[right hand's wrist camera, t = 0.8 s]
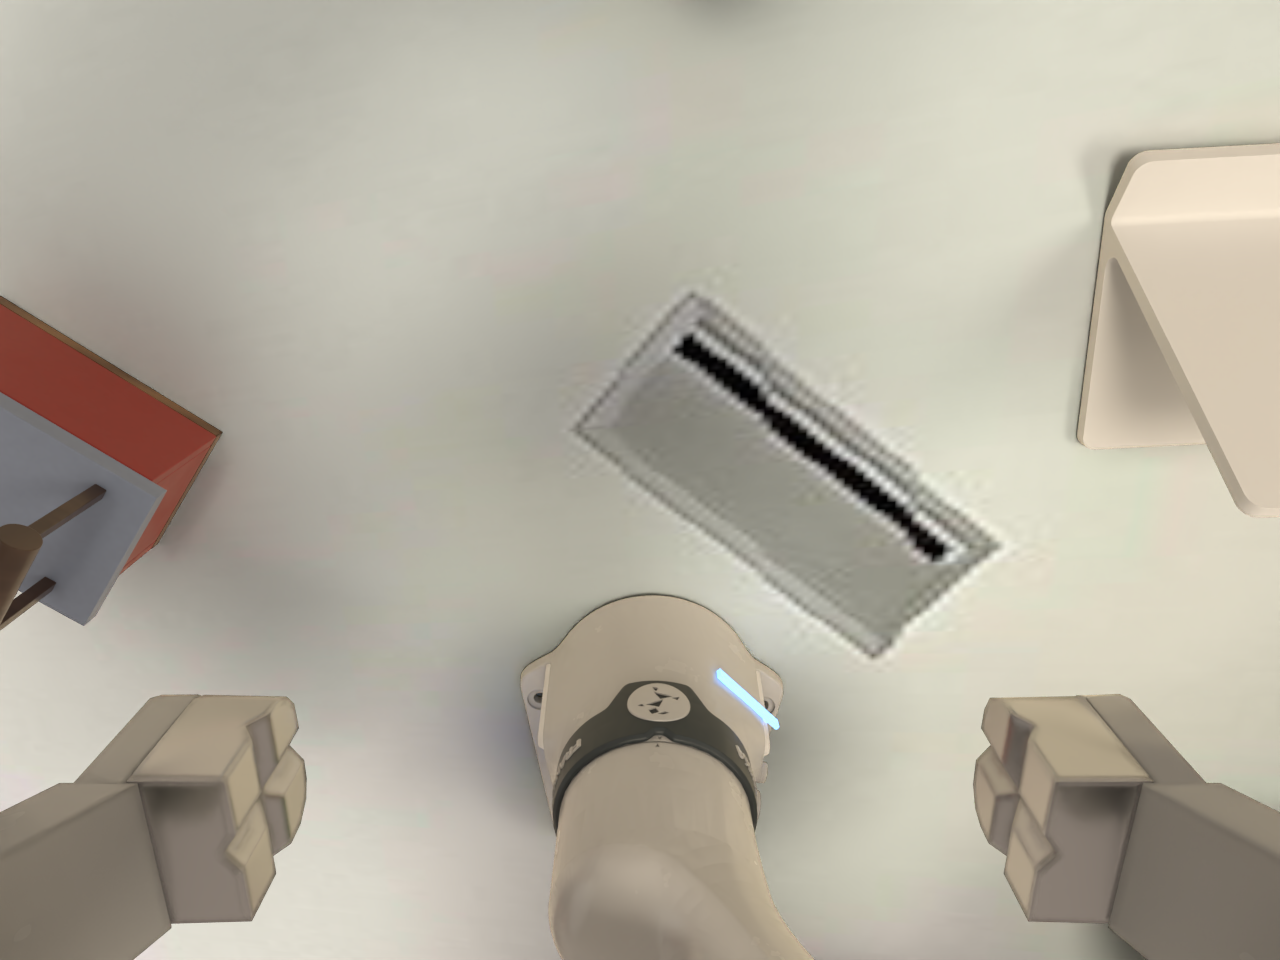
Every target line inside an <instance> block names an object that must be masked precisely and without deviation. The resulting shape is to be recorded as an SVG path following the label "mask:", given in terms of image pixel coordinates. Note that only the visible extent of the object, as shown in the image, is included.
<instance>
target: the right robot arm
mask: <svg viewBox="0 0 1280 960" xmlns="http://www.w3.org/2000/svg"><path fill="white" fill-rule="evenodd" d="M520 686H521V692H522V696H523V700H524V704H525V708H526V713H527V717H528V721H529V725H530V729H531V734H532V738H533V742H534V746H535V750H536V755H537V759H538V763H539V767H540V771H541V775H542V780H543V784H544V788H545V792H546V796H547V801H548V805H549V809H550V813H551V817H552V821H553V825H554V829H555V833H556V837H557V838H556V847H555V855H554V864H553V872H552V880H551V889H550V897H549V905H548V916H549V924H550V930H551V934H552V937H553V941H554V944H555V947H556V949H557V951H558V953H559V955H560V957H561V959H562V960H814V958H813V957H812V956H811V955H810V954H809V953H808V952H807V951H806V950H805V949H804V947H803V946H802V945H801V944H800V942H799V941H798V940H797V939H796V937H795V936H794V935H793V934H792V932H791V931H790V930H789V928H788V927H787V925H786V924H785V922H784V921H783V919H782V918H781V916H780V914H779V912H778V910H777V909H776V907H775V905H774V903H773V900H772V898H771V895H770V892H769V888H768V885H767V881H766V878H765V874H764V871H763V867H762V863H761V859H760V855H759V851H758V847H757V842H756V838H755V829H756V824H757V820H758V817H759V813H760V807H761V796H760V792H759V791H758V790H757V788H756V782H758V783H764V782H765V781H766V777H767V770H768V768H767V763H766V762H763V758H764V756H766V755H768V754H769V751H770V740H769V734H770V732H771V729H772V727H773V728H774V729H775V730H777V729H778V728H779V724H778V720H777V719H776V718H775V717H776V714H777V712H778V709H779V706H780V703H781V700H782V697H783V683H782V680H781V678H780V677H779V676H778V675H777V674H776V673H775V672H774V671H772V670H771V669H770V668H768V667H767V666H765V665H764V664H762V663H760V662H759V661H757V660H756V659H754V658H753V657H752V656H751V655H750V653H749V652H748V651H747V650H746V648H745V646H744V645H743V643H742V642H741V640H740V639H739V637H738V636H737V634H736V633H735V632H734V631H733V630H732V628H731V627H730V626H729V625H728V624H727V623H726V622H725V621H723V620H722V619H721V618H720V617H719V616H717V615H716V614H714V613H713V612H711V611H709V610H708V609H706V608H704V607H702V606H700V605H698V604H695V603H693V602H690V601H687V600H683V599H680V598H675V597H669V596H659V595H646V596H636V597H630V598H625V599H621V600H618V601H615V602H612V603H609V604H607V605H605V606H603V607H601V608H599V609H597V610H595V611H593V612H592V613H590V614H589V615H587V616H586V617H585V618H583V619H582V620H581V621H580V622H579V623H578V624H577V625H576V626H575V627H574V628H573V629H572V630H571V631H570V632H569V633H568V635H567V636H566V637H565V639H564V640H563V641H562V642H561V644H560V645H559V646H558V647H557V648H556V649H555V650H554V651H553V652H551V653H549V654H547V655H545V656H543V657H541V658H539V659H537V660H536V661H534V662H532V663H531V664H529V665H528V666H527V667H526V668H525V669H524V670H523V671H522V673H521V682H520ZM537 693H542V694H543V696H542V697H538V696H536V695H535V694H537ZM764 701H767V702H766V703H765V704H764ZM298 729H299V726H298V721H297V716H296V711H295V706H294V703H293V702H292V701H291V700H290V699H289V698H288V697H284V696H236V695H203V696H201V695H159V696H156V697H152V698H150V699H149V700H148V701H147V702H146V703H145V705H144V706H143V707H142V708H141V709H140V710H139V711H138V712H137V713H136V714H135V716H134V717H133V718H132V719H131V720H130V721H129V722H128V723H127V724H126V726H125V727H124V728H123V729H122V730H121V731H120V732H119V733H118V734H117V736H116V737H115V738H114V739H113V740H112V741H111V742H110V743H109V744H108V745H107V747H106V748H105V749H104V750H103V751H102V752H101V753H100V754H99V755H98V757H97V758H96V759H95V760H94V761H93V762H92V763H91V764H90V765H89V767H88V768H87V769H86V770H85V771H84V772H83V773H82V774H81V775H80V776H79V778H78V779H77V780H76V781H75V782H74V783H59V784H57V785H55V786H53V787H51V788H49V789H46V790H44V791H42V792H40V793H38V794H36V795H34V796H32V797H30V798H28V799H26V800H24V801H22V802H20V803H18V804H16V805H14V806H12V807H10V808H8V809H6V810H4V811H2V812H0V960H133V959H135V958H136V957H137V956H138V955H139V954H141V953H142V952H143V951H144V950H145V949H147V948H148V947H149V946H150V945H151V944H153V943H154V942H155V941H156V940H157V939H159V938H160V937H161V936H162V935H163V934H165V933H166V932H167V931H168V930H170V929H171V924H173V923H208V922H242V921H252V920H253V918H254V916H255V914H256V912H257V910H258V908H259V906H260V904H261V902H262V900H263V898H264V896H265V894H266V892H267V890H268V888H269V886H270V885H271V883H272V881H273V879H274V877H275V875H276V869H275V864H274V858H273V856H274V855H275V854H277V853H278V852H280V851H281V850H282V849H284V848H285V847H287V846H288V845H290V844H291V843H292V841H293V839H294V837H295V834H296V832H297V830H298V828H299V826H300V824H301V820H302V815H303V811H304V806H305V802H306V780H307V778H306V771H305V764H304V760H303V759H302V758H301V757H300V755H299V754H298V753H297V752H296V751H295V750H294V749H293V748H292V747H291V746H290V745H289V744H290V743H291V741H292V739H293V737H294V736H295V734H296V732H297V730H298ZM981 729H982V730H983V732H984V734H985V736H986V737H987V739H988V741H989V743H990V744H991V745H990V746H989V747H988V748H987V749H986V750H985V751H984V752H983V753H982V754H981V755H980V757H979V758H978V759H977V760H976V765H975V773H974V781H973V789H974V799H975V809H976V813H977V816H978V819H979V823H980V826H981V828H982V830H983V832H984V835H985V837H986V839H987V841H988V843H989V844H990V845H992V846H993V847H995V848H996V849H998V850H999V851H1000V852H1002V853H1003V854H1005V855H1006V856H1007V858H1006V864H1005V869H1004V875H1005V877H1006V879H1007V881H1008V883H1009V885H1010V886H1011V888H1012V890H1013V892H1014V894H1015V896H1016V898H1017V900H1018V902H1019V904H1020V906H1021V908H1022V910H1023V912H1024V914H1025V916H1026V918H1027V920H1028V921H1036V922H1071V923H1107V924H1109V926H1108V927H1109V928H1110V929H1111V930H1112V931H1113V932H1115V933H1116V934H1117V935H1118V936H1119V937H1121V938H1122V939H1123V940H1124V941H1125V942H1127V943H1128V944H1129V945H1130V946H1131V947H1133V948H1134V949H1135V950H1136V951H1137V952H1139V953H1140V954H1141V955H1142V956H1143V957H1145V958H1146V959H1147V960H1280V812H1278V811H1276V810H1274V809H1272V808H1270V807H1268V806H1266V805H1264V804H1262V803H1260V802H1258V801H1256V800H1254V799H1252V798H1250V797H1248V796H1246V795H1244V794H1242V793H1240V792H1238V791H1236V790H1233V789H1231V788H1229V787H1227V786H1225V785H1223V784H1221V783H1206V782H1205V781H1204V780H1203V779H1202V778H1201V776H1200V775H1199V774H1198V773H1197V772H1196V771H1195V770H1194V769H1193V768H1192V767H1191V765H1190V764H1189V763H1188V762H1187V761H1186V760H1185V759H1184V758H1183V757H1182V755H1181V754H1180V753H1179V752H1178V751H1177V750H1176V749H1175V748H1174V747H1173V745H1172V744H1171V743H1170V742H1169V741H1168V740H1167V739H1166V738H1165V737H1164V736H1163V734H1162V733H1161V732H1160V731H1159V730H1158V729H1157V728H1156V727H1155V726H1154V724H1153V723H1152V722H1151V721H1150V720H1149V719H1148V718H1147V717H1146V716H1145V714H1144V713H1143V712H1142V711H1141V710H1140V709H1139V708H1138V707H1137V706H1136V705H1135V703H1134V702H1133V701H1132V700H1131V699H1129V698H1127V697H1125V696H1123V695H1121V694H1106V695H1077V696H1061V697H1007V698H990V699H989V701H988V703H987V705H986V707H985V709H984V714H983V720H982V726H981Z"/></svg>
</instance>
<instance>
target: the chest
mask: <svg viewBox="0 0 1280 960" xmlns="http://www.w3.org/2000/svg"><path fill="white" fill-rule="evenodd" d="M0 392H1V393H3V394H4V395H6V396H8V397H10V398H11V399H13V400H15V401H16V402H18V403H20V404H21V405H23V406H25V407H26V408H28V409H30V410H32V411H33V412H35V413H37V414H38V415H40V416H42V417H43V418H45V419H47V420H49V421H50V422H52V423H54V424H55V425H57V426H59V427H60V428H62V429H64V430H65V431H67V432H69V433H71V434H72V435H74V436H76V437H77V438H79V439H81V440H82V441H84V442H86V443H88V444H89V445H91V446H93V447H94V448H96V449H98V450H99V451H101V452H103V453H104V454H106V455H108V456H110V457H111V458H113V459H115V460H116V461H118V462H120V463H121V464H123V465H125V466H127V467H128V468H130V469H132V470H133V471H135V472H137V473H138V474H140V475H142V476H143V477H145V478H147V479H149V480H150V481H152V482H154V483H155V484H157V485H159V486H160V487H162V488H164V489H165V490H167V492H166V494H165V495H164V497H163V499H162V501H161V502H160V504H159V506H158V508H157V509H156V511H155V513H154V515H153V516H152V518H151V520H150V522H149V523H148V525H147V527H146V529H145V530H144V532H143V534H142V536H141V537H140V539H139V541H138V543H137V544H136V546H135V548H134V550H133V551H132V553H131V555H130V557H129V558H128V560H127V562H126V564H125V565H124V567H123V569H122V571H121V572H120V574H121V573H122V572H124V571H125V570H126V569H127V568H128V567H130V566H131V565H132V564H133V563H134V562H136V561H137V560H138V559H139V558H140V557H142V556H143V555H144V554H145V553H146V552H148V551H149V550H150V549H152V548H153V547H154V546H156V545H157V544H158V542H159V541H160V539H161V537H162V536H163V534H164V532H165V530H166V529H167V527H168V525H169V524H170V522H171V520H172V518H173V517H174V515H175V513H176V511H177V510H178V508H179V506H180V505H181V503H182V501H183V499H184V498H185V496H186V494H187V493H188V491H189V489H190V487H191V486H192V484H193V482H194V481H195V479H196V477H197V475H198V474H199V472H200V470H201V469H202V467H203V465H204V463H205V462H206V460H207V458H208V456H209V455H210V453H211V451H212V450H213V448H214V446H215V444H216V443H217V441H218V439H219V438H220V436H221V434H222V432H221V431H220V430H218V429H217V428H215V427H213V426H212V425H210V424H208V423H207V422H205V421H204V420H202V419H200V418H199V417H197V416H195V415H194V414H192V413H190V412H189V411H187V410H186V409H184V408H182V407H181V406H179V405H177V404H176V403H174V402H173V401H171V400H169V399H168V398H166V397H164V396H163V395H161V394H160V393H158V392H156V391H155V390H153V389H151V388H150V387H148V386H146V385H145V384H143V383H142V382H140V381H138V380H137V379H135V378H133V377H132V376H130V375H129V374H127V373H125V372H124V371H122V370H120V369H119V368H117V367H116V366H114V365H112V364H111V363H109V362H107V361H106V360H104V359H102V358H101V357H99V356H98V355H96V354H94V353H93V352H91V351H89V350H88V349H86V348H85V347H83V346H81V345H80V344H78V343H76V342H75V341H73V340H71V339H70V338H68V337H67V336H65V335H63V334H62V333H60V332H58V331H57V330H55V329H54V328H52V327H50V326H49V325H47V324H45V323H44V322H42V321H41V320H39V319H37V318H36V317H34V316H32V315H31V314H29V313H27V312H26V311H24V310H23V309H21V308H19V307H18V306H16V305H14V304H13V303H11V302H10V301H8V300H6V299H5V298H3V297H1V296H0ZM120 574H119V575H120Z"/></svg>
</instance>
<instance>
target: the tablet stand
mask: <svg viewBox="0 0 1280 960" xmlns="http://www.w3.org/2000/svg"><path fill="white" fill-rule="evenodd" d="M1077 438H1078V440H1079V442H1080V443H1081V444H1083V445H1084V446H1086V447H1087V448H1089V449H1114V448H1134V447H1155V446H1175V445H1196V444H1206V445H1207V447H1208V449H1209V451H1210V453H1211V455H1212V457H1213V459H1214V461H1215V463H1216V465H1217V467H1218V469H1219V471H1220V473H1221V476H1222V478H1223V480H1224V482H1225V484H1226V486H1227V488H1228V490H1229V492H1230V494H1231V496H1232V498H1233V500H1234V502H1235V504H1236V506H1237V507H1238V508H1239V509H1240V510H1241V511H1242V512H1243V513H1245V514H1247V515H1249V516H1251V517H1256V518H1265V517H1280V143H1274V144H1255V145H1237V146H1219V147H1200V148H1182V149H1164V150H1147V151H1143V152H1140V153H1138V154H1137V155H1135V156H1134V157H1133V158H1132V159H1131V160H1130V161H1129V163H1128V165H1127V167H1126V169H1125V171H1124V173H1123V175H1122V178H1121V180H1120V182H1119V184H1118V186H1117V189H1116V191H1115V193H1114V195H1113V197H1112V200H1111V202H1110V204H1109V206H1108V208H1107V210H1106V213H1105V219H1104V227H1103V235H1102V242H1101V250H1100V258H1099V266H1098V274H1097V282H1096V290H1095V297H1094V305H1093V313H1092V321H1091V329H1090V337H1089V345H1088V353H1087V360H1086V368H1085V376H1084V384H1083V392H1082V400H1081V408H1080V415H1079V423H1078V431H1077Z"/></svg>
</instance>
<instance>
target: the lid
mask: <svg viewBox="0 0 1280 960" xmlns="http://www.w3.org/2000/svg"><path fill="white" fill-rule="evenodd" d="M166 492H167V490H165V489H164V488H162V487H160V486H159V485H157V484H155V483H154V482H152V481H150V480H149V479H147V478H145V477H143V476H142V475H140V474H138V473H137V472H135V471H133V470H132V469H130V468H128V467H127V466H125V465H123V464H121V463H120V462H118V461H116V460H115V459H113V458H111V457H110V456H108V455H106V454H104V453H103V452H101V451H99V450H98V449H96V448H94V447H93V446H91V445H89V444H88V443H86V442H84V441H82V440H81V439H79V438H77V437H76V436H74V435H72V434H71V433H69V432H67V431H65V430H64V429H62V428H60V427H59V426H57V425H55V424H54V423H52V422H50V421H49V420H47V419H45V418H43V417H42V416H40V415H38V414H37V413H35V412H33V411H32V410H30V409H28V408H26V407H25V406H23V405H21V404H20V403H18V402H16V401H15V400H13V399H11V398H10V397H8V396H6V395H4V394H3V393H1V392H0V630H2V629H3V628H4V627H6V626H7V625H8V624H9V623H11V622H12V621H13V620H15V619H16V618H17V617H19V616H20V615H21V614H23V613H24V612H25V611H26V610H28V609H29V608H30V607H32V606H33V605H34V604H36V603H37V602H38V601H39V602H41V603H43V604H44V605H46V606H48V607H50V608H52V609H54V610H55V611H57V612H59V613H61V614H63V615H65V616H66V617H68V618H70V619H72V620H74V621H76V622H77V623H79V624H81V625H83V626H84V625H86V624H87V623H88V622H89V621H90V620H91V619H92V618H94V617H95V616H96V614H97V612H98V611H99V609H100V607H101V605H102V604H103V602H104V600H105V598H106V597H107V595H108V593H109V591H110V590H111V588H112V586H113V585H114V583H115V581H116V579H117V578H118V576H119V574H120V572H121V571H122V569H123V567H124V565H125V564H126V562H127V560H128V558H129V557H130V555H131V553H132V551H133V550H134V548H135V546H136V544H137V543H138V541H139V539H140V537H141V536H142V534H143V532H144V530H145V529H146V527H147V525H148V523H149V522H150V520H151V518H152V516H153V515H154V513H155V511H156V509H157V508H158V506H159V504H160V502H161V501H162V499H163V497H164V495H165V494H166ZM18 590H19V591H20V592H22V594H20V595H19V596H18V597H16V598H15V599H14V597H15V595H16V594H17V592H18ZM13 599H14V600H13Z"/></svg>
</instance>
